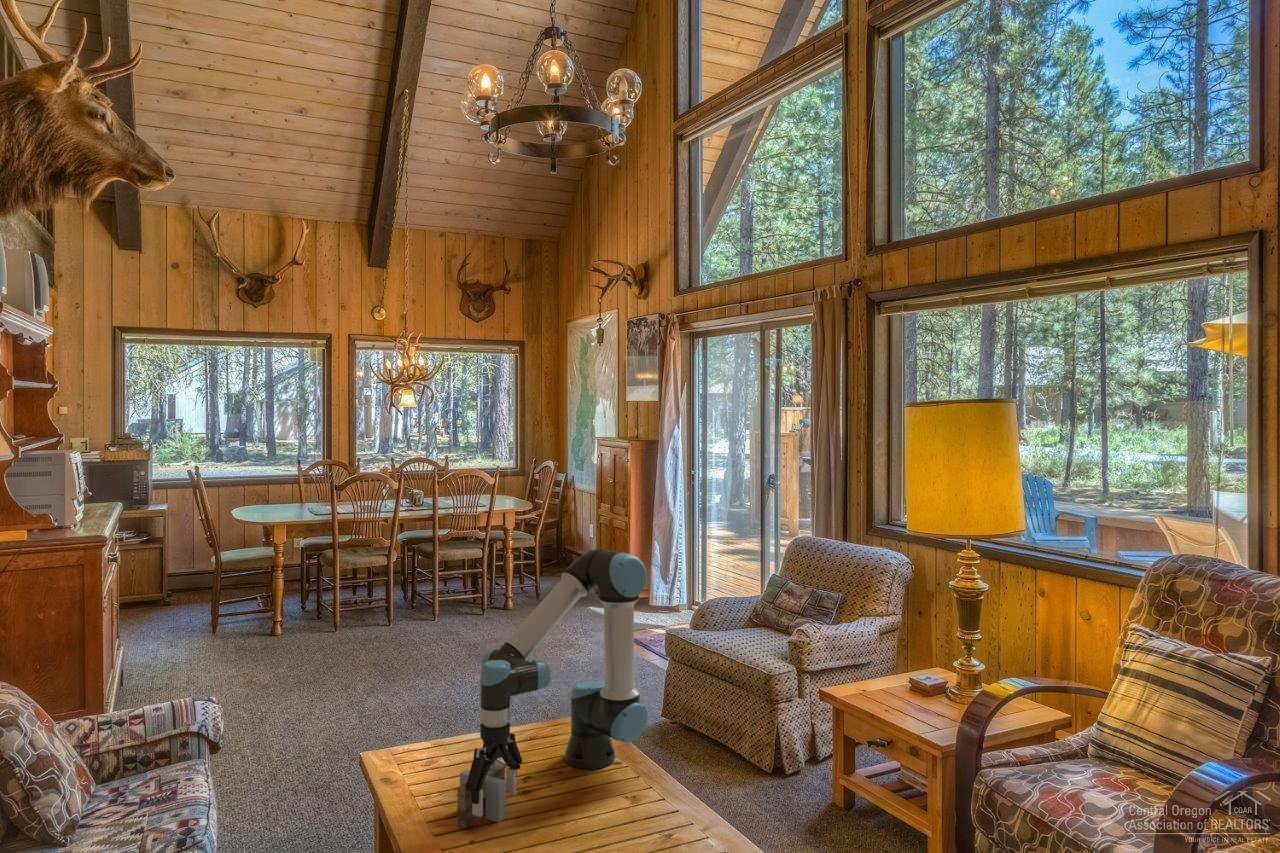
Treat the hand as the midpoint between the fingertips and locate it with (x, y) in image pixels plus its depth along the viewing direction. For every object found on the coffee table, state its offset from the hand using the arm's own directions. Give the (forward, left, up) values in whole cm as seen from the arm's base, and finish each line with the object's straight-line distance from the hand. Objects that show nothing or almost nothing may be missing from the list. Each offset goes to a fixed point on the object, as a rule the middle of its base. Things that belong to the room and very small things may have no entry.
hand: (494, 804), depth 218 cm
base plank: (+3, -3, -4) cm, 6 cm away
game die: (-2, -23, -4) cm, 23 cm away
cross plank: (+3, -3, -4) cm, 6 cm away
